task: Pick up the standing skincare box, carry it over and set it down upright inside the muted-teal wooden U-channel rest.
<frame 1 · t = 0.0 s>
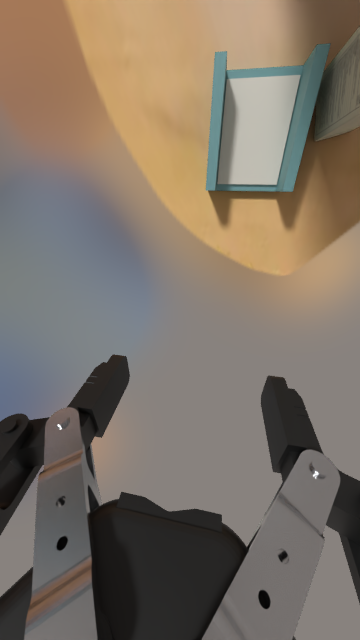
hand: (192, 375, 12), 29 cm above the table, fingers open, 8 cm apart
skincare box: (333, 104, 25), on the table
u rest: (252, 138, 28), on the table
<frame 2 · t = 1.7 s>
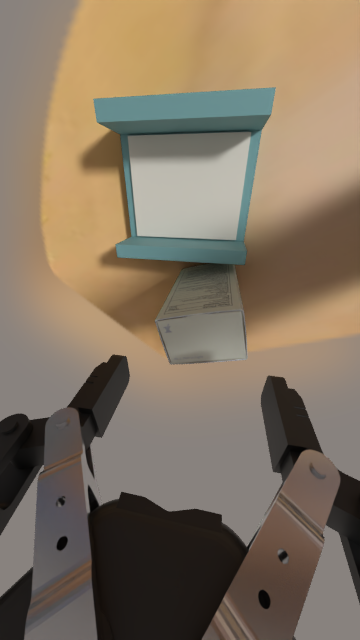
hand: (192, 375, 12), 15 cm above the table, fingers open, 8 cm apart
skincare box: (210, 279, 25), on the table
u rest: (187, 191, 21), on the table
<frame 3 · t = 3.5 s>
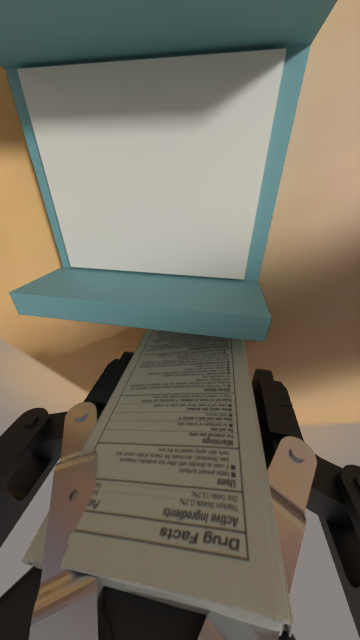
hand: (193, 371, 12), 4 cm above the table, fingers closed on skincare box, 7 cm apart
skincare box: (200, 332, 16), on the table, touching gripper
u rest: (154, 189, 11), on the table
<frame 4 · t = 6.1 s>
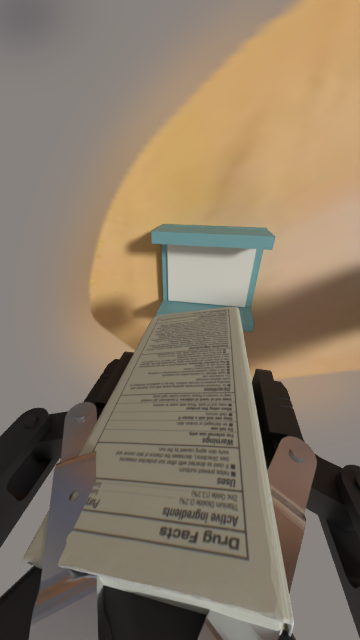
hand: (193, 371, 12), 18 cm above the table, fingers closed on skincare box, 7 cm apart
skincare box: (200, 332, 16), point 14 cm above the table, touching gripper
u rest: (208, 271, 27), on the table
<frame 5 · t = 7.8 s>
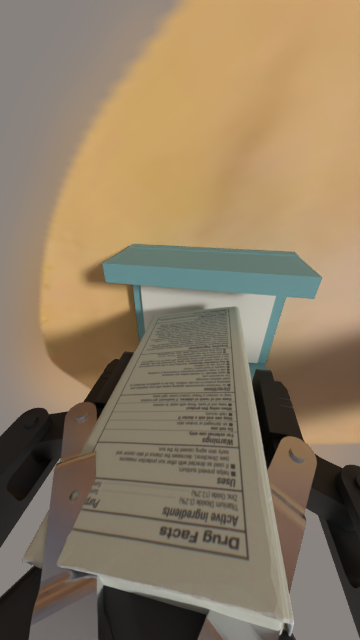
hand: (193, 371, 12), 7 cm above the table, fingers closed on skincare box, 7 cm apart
skincare box: (200, 331, 16), point 3 cm above the table, touching gripper
u rest: (204, 311, 18), on the table
when the fingers open (6 cm above the table, at t = 9.1 s): skincare box drops 1 cm, resting on u rest.
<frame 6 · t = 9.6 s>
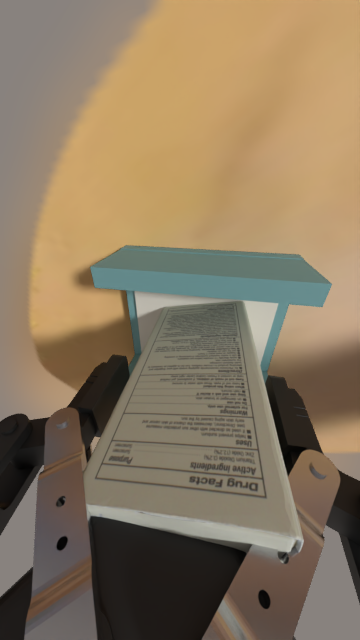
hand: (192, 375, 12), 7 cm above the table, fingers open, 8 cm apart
skincare box: (206, 324, 16), point 1 cm above the table, touching u rest
u rest: (202, 317, 17), on the table
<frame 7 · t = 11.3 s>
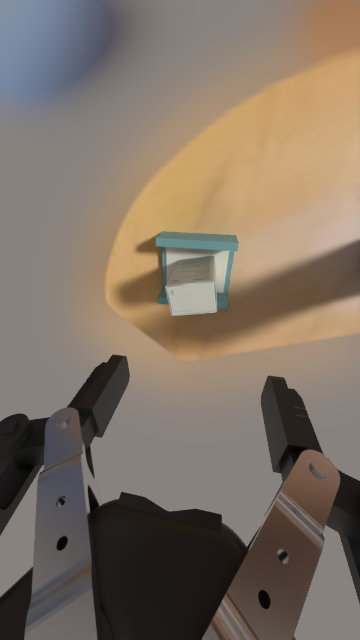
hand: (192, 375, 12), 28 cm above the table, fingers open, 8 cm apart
skincare box: (198, 268, 36), point 1 cm above the table, touching u rest
u rest: (196, 266, 37), on the table
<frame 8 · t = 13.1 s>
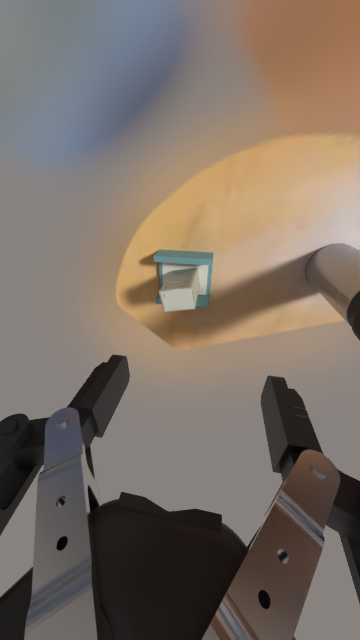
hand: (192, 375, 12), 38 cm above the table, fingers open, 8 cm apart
skincare box: (186, 276, 48), point 1 cm above the table, touching u rest
u rest: (185, 275, 49), on the table
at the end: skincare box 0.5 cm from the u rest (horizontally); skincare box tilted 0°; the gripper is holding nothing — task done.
